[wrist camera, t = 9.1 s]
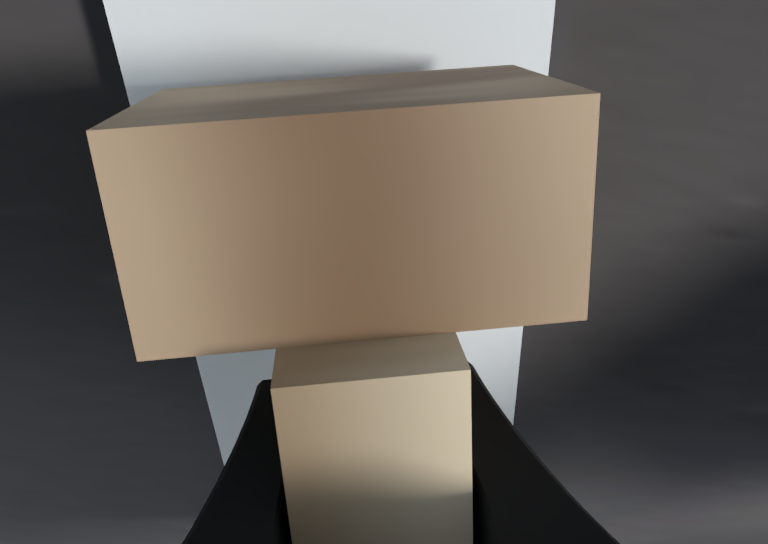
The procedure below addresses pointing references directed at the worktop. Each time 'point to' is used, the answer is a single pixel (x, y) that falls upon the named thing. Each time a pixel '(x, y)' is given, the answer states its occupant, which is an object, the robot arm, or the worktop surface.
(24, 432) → the worktop surface
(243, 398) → the grey mat
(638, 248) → the worktop surface
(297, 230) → the tan boxy piece
